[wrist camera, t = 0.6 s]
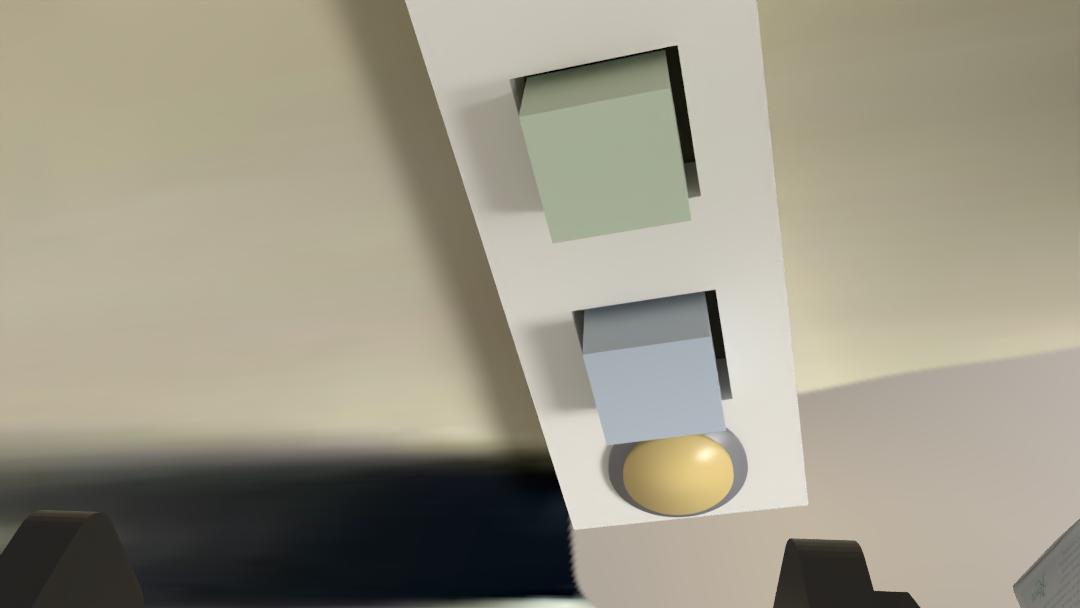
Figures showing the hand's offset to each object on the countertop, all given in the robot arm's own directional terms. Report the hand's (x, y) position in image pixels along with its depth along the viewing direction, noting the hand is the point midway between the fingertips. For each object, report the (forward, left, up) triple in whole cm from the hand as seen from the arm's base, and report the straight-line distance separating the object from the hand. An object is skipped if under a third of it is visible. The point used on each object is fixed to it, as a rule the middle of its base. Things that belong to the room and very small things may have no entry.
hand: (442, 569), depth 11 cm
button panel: (-1, +6, -22) cm, 23 cm away
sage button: (-1, +4, -21) cm, 21 cm away
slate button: (-1, +13, -21) cm, 25 cm away
